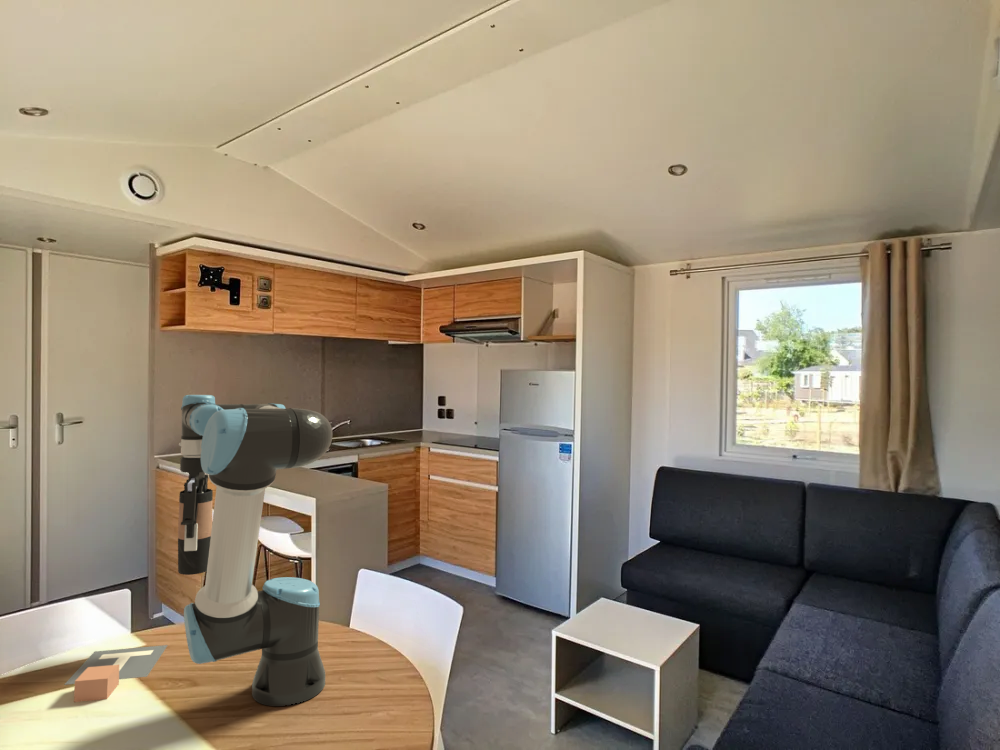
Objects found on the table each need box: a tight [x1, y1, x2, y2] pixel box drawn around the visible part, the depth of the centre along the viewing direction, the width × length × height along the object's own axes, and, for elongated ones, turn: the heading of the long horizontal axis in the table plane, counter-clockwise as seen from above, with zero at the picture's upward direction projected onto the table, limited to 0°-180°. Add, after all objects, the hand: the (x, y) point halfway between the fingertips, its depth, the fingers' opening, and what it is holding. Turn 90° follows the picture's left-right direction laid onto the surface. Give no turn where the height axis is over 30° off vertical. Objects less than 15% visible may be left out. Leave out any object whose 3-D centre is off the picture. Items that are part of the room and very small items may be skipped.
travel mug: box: [177, 488, 214, 576], centre depth 147 cm, size 8×8×20 cm
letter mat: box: [64, 644, 169, 686], centre depth 136 cm, size 16×16×1 cm
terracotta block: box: [73, 665, 120, 703], centre depth 123 cm, size 6×6×5 cm
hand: (194, 545), depth 147 cm, fingers closed on travel mug, 8 cm apart
